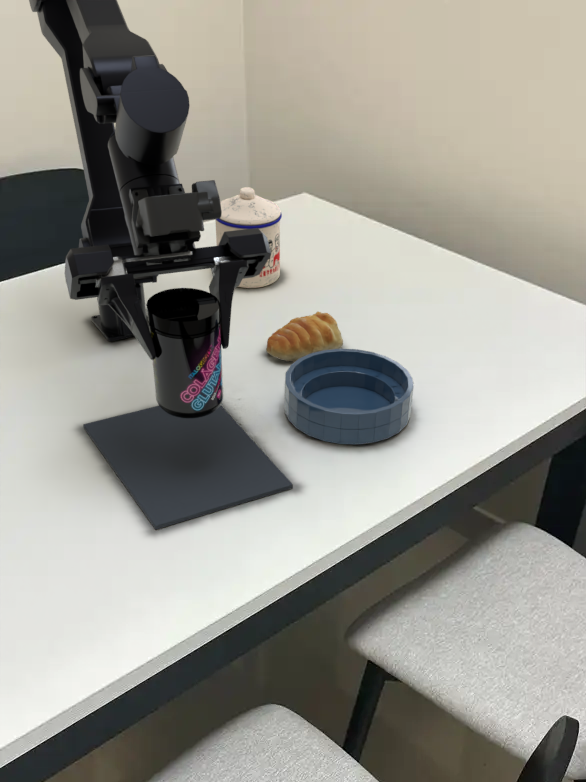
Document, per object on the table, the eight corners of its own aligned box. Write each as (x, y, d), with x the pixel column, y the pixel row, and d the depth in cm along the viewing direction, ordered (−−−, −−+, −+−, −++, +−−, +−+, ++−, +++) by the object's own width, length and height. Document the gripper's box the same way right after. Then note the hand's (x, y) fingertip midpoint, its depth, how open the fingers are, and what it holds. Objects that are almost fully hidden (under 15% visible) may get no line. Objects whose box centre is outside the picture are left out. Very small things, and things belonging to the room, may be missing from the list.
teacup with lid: (271, 293, 130) (271, 206, 122) (207, 284, 131) (202, 196, 123) (294, 258, 139) (295, 174, 131) (233, 250, 140) (231, 166, 132)
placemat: (83, 428, 104) (82, 424, 104) (209, 396, 110) (209, 392, 110) (155, 529, 92) (155, 525, 92) (292, 488, 98) (292, 484, 98)
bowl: (263, 397, 111) (262, 364, 108) (367, 370, 116) (370, 338, 113) (324, 460, 102) (325, 426, 99) (433, 428, 108) (438, 395, 105)
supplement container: (169, 427, 92) (160, 326, 85) (146, 392, 97) (136, 294, 89) (234, 413, 95) (231, 314, 88) (209, 380, 99) (204, 283, 92)
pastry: (286, 371, 115) (286, 342, 112) (254, 349, 119) (253, 320, 116) (347, 350, 120) (348, 322, 117) (314, 329, 123) (315, 301, 121)
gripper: (50, 154, 79) (95, 339, 80) (263, 137, 85) (305, 310, 86) (48, 214, 90) (88, 377, 91) (238, 195, 96) (275, 348, 96)
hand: (189, 352), depth 91 cm, fingers closed on supplement container, 7 cm apart
